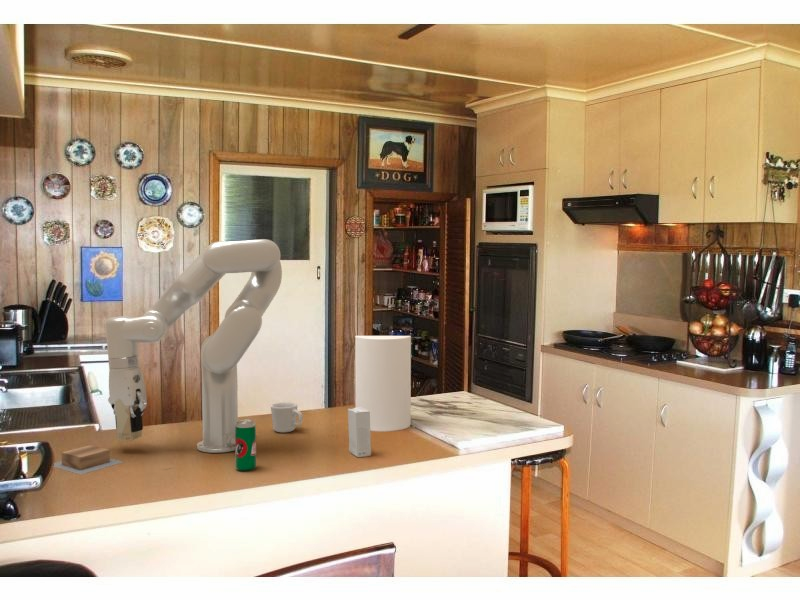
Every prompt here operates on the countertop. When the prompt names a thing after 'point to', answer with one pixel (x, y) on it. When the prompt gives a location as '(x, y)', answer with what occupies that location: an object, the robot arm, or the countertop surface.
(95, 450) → the walnut plinth
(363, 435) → the skincare box
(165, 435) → the countertop surface
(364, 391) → the cylinder
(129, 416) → the box
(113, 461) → the slate mat
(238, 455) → the soda can
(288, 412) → the cup
